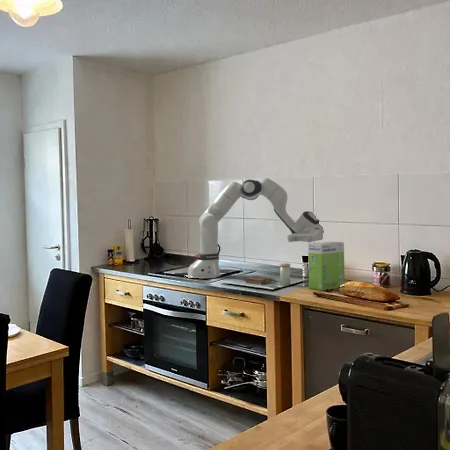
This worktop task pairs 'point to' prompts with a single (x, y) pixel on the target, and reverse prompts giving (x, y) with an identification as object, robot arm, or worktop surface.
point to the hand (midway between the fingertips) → (296, 240)
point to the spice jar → (284, 274)
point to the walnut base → (258, 280)
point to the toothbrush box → (326, 265)
